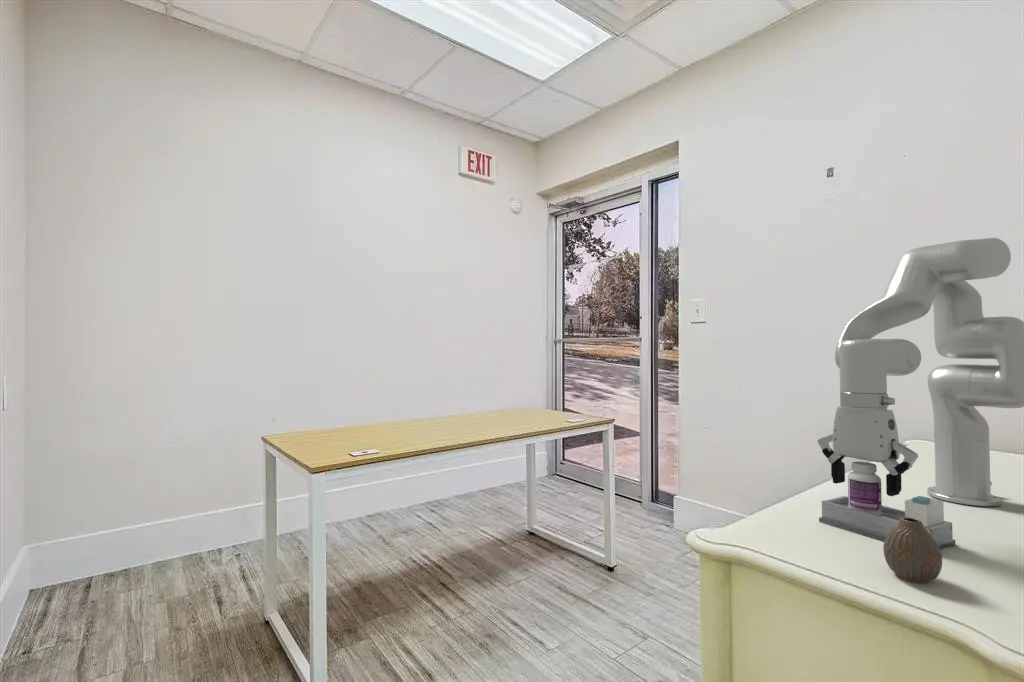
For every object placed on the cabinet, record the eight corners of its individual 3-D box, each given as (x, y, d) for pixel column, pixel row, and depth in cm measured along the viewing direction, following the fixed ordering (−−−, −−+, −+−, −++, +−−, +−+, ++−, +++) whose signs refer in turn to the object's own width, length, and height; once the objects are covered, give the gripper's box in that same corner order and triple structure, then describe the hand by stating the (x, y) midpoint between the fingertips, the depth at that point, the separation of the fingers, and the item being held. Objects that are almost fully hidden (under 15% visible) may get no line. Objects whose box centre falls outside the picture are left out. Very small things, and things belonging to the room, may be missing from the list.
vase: (872, 568, 76) (871, 512, 76) (912, 566, 77) (911, 511, 77) (912, 589, 69) (911, 528, 69) (956, 587, 70) (954, 527, 70)
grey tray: (847, 514, 102) (846, 474, 102) (955, 544, 86) (954, 497, 86) (819, 521, 97) (818, 480, 97) (927, 554, 81) (926, 505, 81)
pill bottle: (888, 518, 91) (887, 467, 91) (856, 516, 92) (855, 465, 92) (872, 509, 96) (871, 461, 97) (843, 507, 97) (842, 459, 98)
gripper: (925, 404, 89) (928, 497, 88) (828, 397, 104) (830, 476, 104) (904, 406, 85) (907, 503, 85) (807, 398, 101) (809, 480, 100)
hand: (864, 488), depth 94 cm, fingers open, 9 cm apart
